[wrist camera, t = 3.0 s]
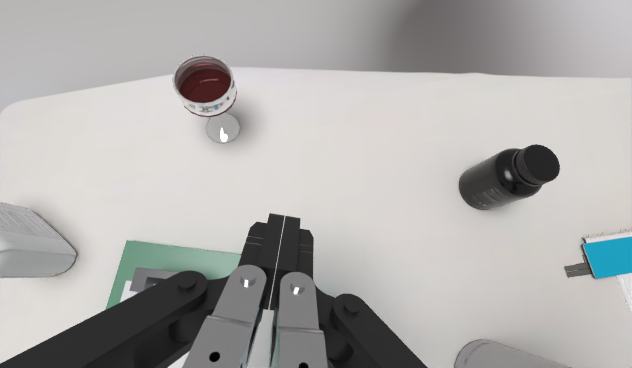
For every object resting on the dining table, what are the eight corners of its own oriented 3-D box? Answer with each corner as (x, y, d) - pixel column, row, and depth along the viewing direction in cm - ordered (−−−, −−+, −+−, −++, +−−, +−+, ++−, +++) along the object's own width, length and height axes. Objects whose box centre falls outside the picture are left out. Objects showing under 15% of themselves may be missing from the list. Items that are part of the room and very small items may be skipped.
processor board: (223, 422, 34) (209, 457, 28) (79, 410, 33) (31, 444, 27) (252, 256, 40) (246, 253, 34) (130, 241, 39) (100, 235, 32)
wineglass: (237, 102, 46) (222, 47, 35) (252, 140, 45) (242, 95, 33) (193, 116, 45) (164, 62, 33) (208, 154, 43) (182, 113, 32)
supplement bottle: (506, 202, 47) (578, 179, 35) (470, 216, 45) (534, 197, 34) (485, 163, 48) (549, 130, 37) (450, 175, 47) (505, 145, 36)
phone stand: (578, 319, 43) (589, 321, 42) (550, 237, 47) (559, 236, 45) (687, 297, 46) (701, 298, 45) (653, 222, 50) (666, 221, 48)
